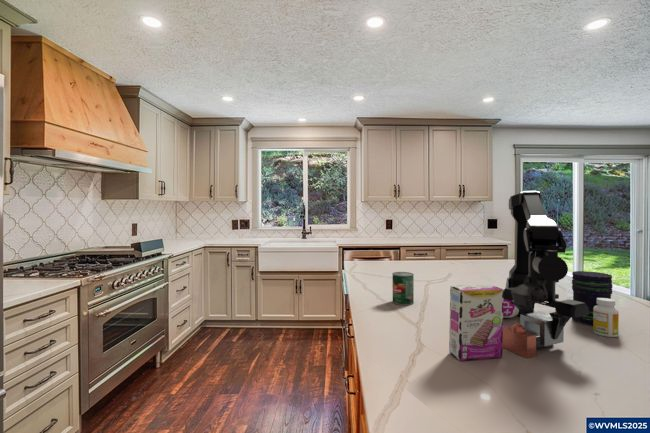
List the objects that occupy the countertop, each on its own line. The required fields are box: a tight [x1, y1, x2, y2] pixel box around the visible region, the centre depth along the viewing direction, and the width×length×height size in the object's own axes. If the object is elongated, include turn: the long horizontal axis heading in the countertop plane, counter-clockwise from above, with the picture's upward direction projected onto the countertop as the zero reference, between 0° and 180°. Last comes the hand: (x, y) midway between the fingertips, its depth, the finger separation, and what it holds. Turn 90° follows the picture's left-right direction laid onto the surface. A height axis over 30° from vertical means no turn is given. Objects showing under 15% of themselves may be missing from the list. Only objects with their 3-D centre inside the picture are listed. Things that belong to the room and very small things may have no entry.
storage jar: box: [571, 270, 613, 327], centre depth 103 cm, size 10×10×15 cm
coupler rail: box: [502, 322, 554, 359], centre depth 83 cm, size 13×7×7 cm, turn 112°
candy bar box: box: [448, 284, 505, 362], centre depth 78 cm, size 11×5×16 cm, turn 100°
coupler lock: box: [519, 310, 565, 346], centre depth 84 cm, size 7×6×6 cm
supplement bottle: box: [592, 298, 620, 338], centre depth 93 cm, size 5×5×10 cm
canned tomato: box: [391, 271, 415, 306], centre depth 126 cm, size 8×8×11 cm
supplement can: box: [503, 299, 519, 319], centre depth 108 cm, size 8×8×15 cm
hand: (541, 334), depth 84 cm, fingers closed on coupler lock, 6 cm apart
